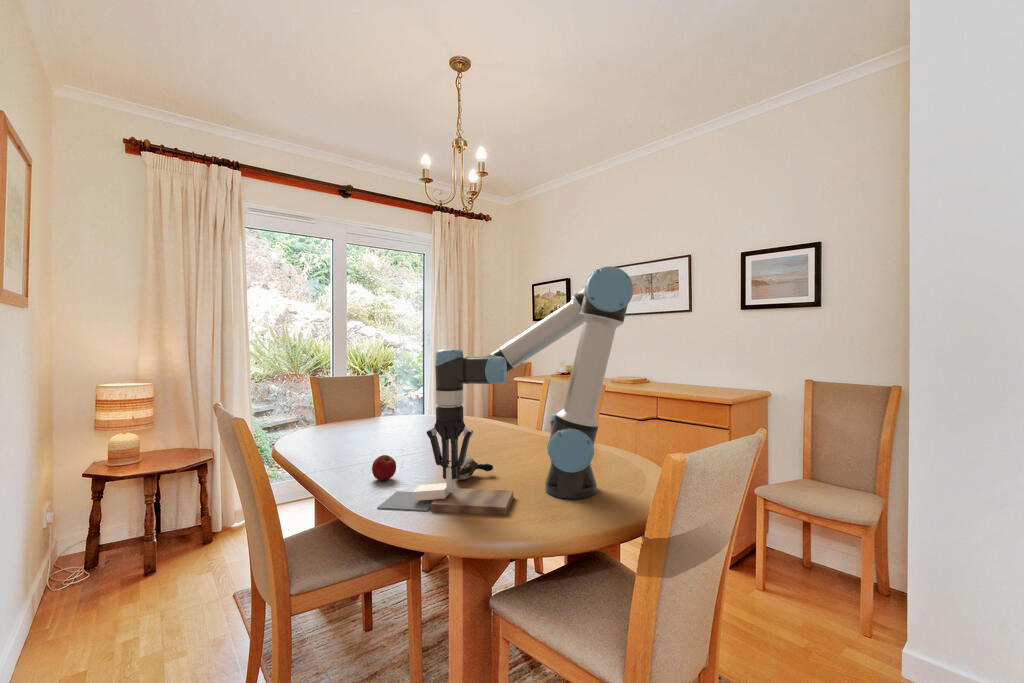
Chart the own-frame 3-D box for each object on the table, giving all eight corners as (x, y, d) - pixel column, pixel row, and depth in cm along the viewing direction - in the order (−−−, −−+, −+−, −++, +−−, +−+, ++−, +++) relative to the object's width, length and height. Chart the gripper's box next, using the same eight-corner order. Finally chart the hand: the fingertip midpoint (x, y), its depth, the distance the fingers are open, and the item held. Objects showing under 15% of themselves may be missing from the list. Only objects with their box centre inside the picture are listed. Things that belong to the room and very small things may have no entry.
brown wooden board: (513, 497, 130) (513, 490, 130) (505, 515, 117) (505, 507, 117) (445, 494, 133) (445, 487, 133) (430, 511, 120) (430, 504, 120)
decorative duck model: (494, 453, 155) (494, 464, 140) (492, 476, 154) (492, 489, 139) (449, 450, 154) (445, 460, 139) (447, 472, 154) (442, 485, 139)
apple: (371, 485, 143) (371, 459, 143) (372, 477, 151) (372, 453, 151) (396, 482, 145) (396, 457, 145) (396, 475, 153) (395, 451, 153)
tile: (451, 491, 129) (450, 482, 129) (445, 498, 124) (444, 489, 124) (421, 493, 131) (420, 484, 131) (413, 500, 125) (412, 491, 125)
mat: (442, 494, 133) (442, 493, 133) (427, 511, 121) (427, 509, 121) (396, 492, 136) (396, 491, 136) (377, 508, 123) (377, 507, 123)
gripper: (475, 403, 129) (476, 487, 129) (431, 402, 131) (432, 485, 131) (469, 407, 121) (469, 496, 122) (422, 406, 123) (423, 494, 124)
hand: (450, 490), depth 126 cm, fingers closed
